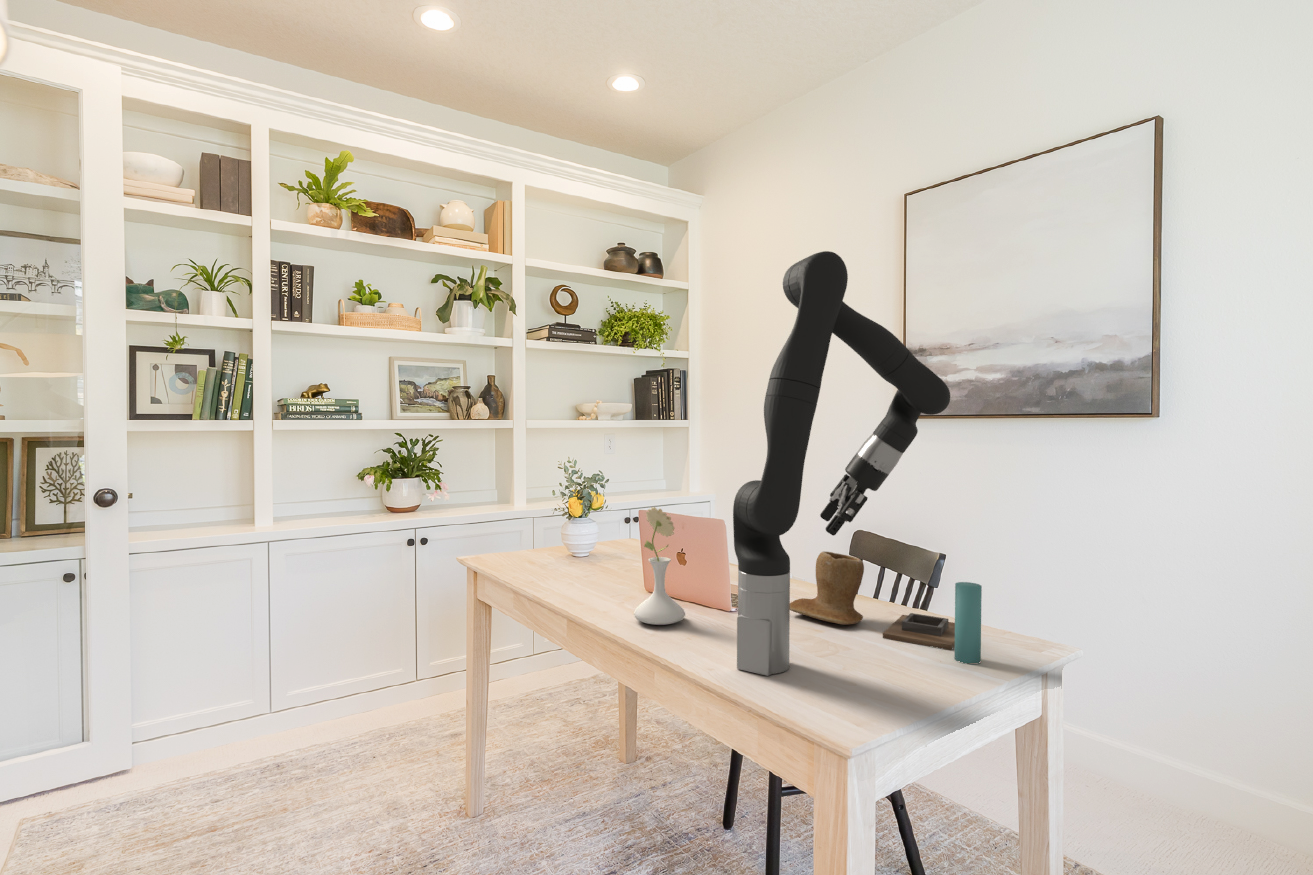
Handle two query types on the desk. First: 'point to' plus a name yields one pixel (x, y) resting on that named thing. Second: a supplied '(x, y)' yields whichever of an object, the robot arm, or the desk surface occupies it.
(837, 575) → the brown hollow flared cylinder
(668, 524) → the flower in vase
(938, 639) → the walnut base board
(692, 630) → the desk surface
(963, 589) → the teal pillar
